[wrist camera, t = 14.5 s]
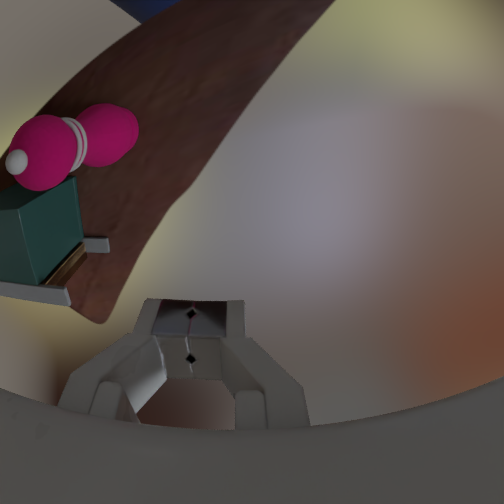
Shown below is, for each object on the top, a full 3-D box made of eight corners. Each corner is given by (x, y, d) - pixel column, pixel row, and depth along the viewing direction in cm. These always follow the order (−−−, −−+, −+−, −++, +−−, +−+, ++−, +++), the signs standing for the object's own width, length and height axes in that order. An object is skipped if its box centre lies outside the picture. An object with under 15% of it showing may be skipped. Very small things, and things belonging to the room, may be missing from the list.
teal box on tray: (20, 181, 33) (-38, 213, 21) (101, 174, 34) (45, 208, 22) (33, 248, 38) (-14, 293, 26) (110, 251, 39) (69, 306, 27)
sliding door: (47, 240, 37) (5, 280, 27) (84, 241, 37) (44, 285, 27) (51, 255, 38) (11, 297, 28) (87, 257, 38) (50, 303, 28)
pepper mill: (154, 132, 32) (65, 163, 14) (114, 170, 34) (17, 235, 16) (119, 91, 29) (10, 89, 12) (82, 131, 31) (-31, 167, 13)
